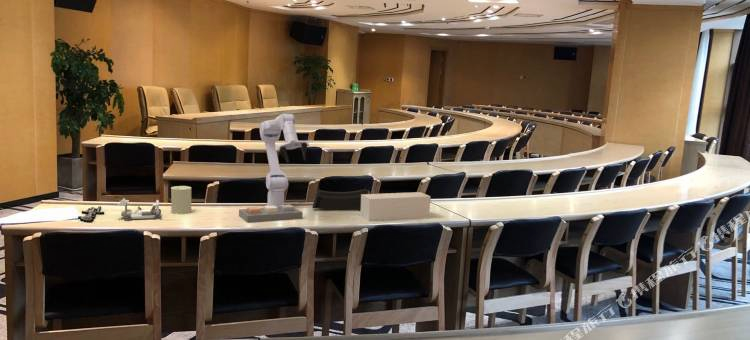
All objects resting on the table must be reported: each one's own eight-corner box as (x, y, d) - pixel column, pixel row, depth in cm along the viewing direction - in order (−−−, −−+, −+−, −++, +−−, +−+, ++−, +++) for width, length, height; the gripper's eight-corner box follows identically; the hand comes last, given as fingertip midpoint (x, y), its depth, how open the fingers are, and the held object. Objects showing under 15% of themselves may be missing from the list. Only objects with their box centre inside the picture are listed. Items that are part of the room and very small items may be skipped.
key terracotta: (246, 213, 279) (247, 207, 278) (257, 212, 281) (257, 206, 280) (250, 216, 274) (250, 209, 274) (260, 215, 277) (260, 208, 276)
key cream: (263, 212, 282) (263, 206, 282) (274, 211, 285) (274, 205, 284) (267, 214, 278) (267, 208, 278) (277, 214, 280) (277, 207, 280)
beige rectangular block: (419, 213, 305) (420, 192, 303) (429, 217, 295) (430, 196, 293) (360, 216, 292) (361, 194, 290) (368, 221, 282) (369, 198, 281)
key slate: (280, 211, 286) (280, 205, 286) (290, 210, 288) (290, 204, 288) (283, 213, 282) (283, 207, 281) (293, 212, 284) (294, 206, 284)
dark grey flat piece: (101, 219, 259) (75, 220, 256) (101, 223, 260) (75, 224, 256) (106, 206, 285) (83, 206, 281) (106, 209, 285) (83, 210, 282)
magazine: (308, 193, 297) (366, 176, 301) (307, 191, 300) (365, 174, 304) (317, 225, 300) (374, 208, 305) (316, 223, 303) (373, 206, 308)
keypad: (238, 215, 282) (238, 209, 281) (291, 212, 294) (291, 205, 293) (247, 222, 269) (247, 216, 269) (302, 218, 282) (302, 212, 281)
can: (166, 212, 282) (166, 187, 280) (178, 208, 290) (178, 184, 289) (184, 214, 279) (183, 189, 277) (195, 210, 288) (195, 186, 286)
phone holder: (116, 200, 261) (118, 194, 272) (117, 222, 262) (118, 216, 273) (161, 198, 267) (160, 193, 278) (161, 220, 269) (161, 214, 279)
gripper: (274, 134, 274) (280, 159, 268) (306, 129, 278) (312, 153, 272) (275, 142, 280) (280, 167, 274) (305, 137, 284) (312, 161, 278)
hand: (296, 161), depth 273 cm, fingers open, 7 cm apart
